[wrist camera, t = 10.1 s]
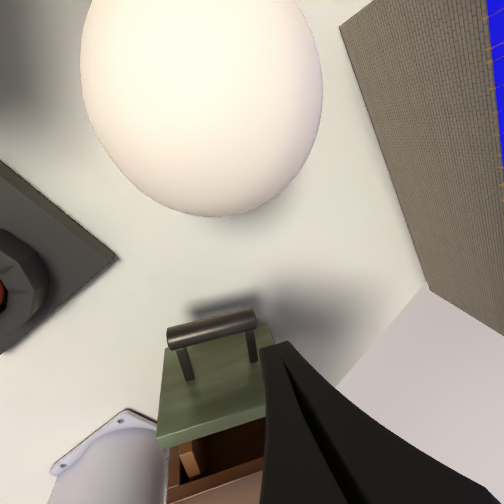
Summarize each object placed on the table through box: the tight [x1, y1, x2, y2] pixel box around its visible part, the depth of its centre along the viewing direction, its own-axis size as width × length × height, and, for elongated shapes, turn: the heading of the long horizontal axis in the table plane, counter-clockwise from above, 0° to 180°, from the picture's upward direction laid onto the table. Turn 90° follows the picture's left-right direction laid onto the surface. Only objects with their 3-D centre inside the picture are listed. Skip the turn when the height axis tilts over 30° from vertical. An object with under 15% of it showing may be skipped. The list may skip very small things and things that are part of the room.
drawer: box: [156, 307, 276, 482], centre depth 18 cm, size 14×8×7 cm, turn 7°
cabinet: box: [166, 445, 264, 504], centre depth 22 cm, size 11×10×9 cm
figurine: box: [80, 0, 323, 217], centre depth 10 cm, size 7×8×12 cm
